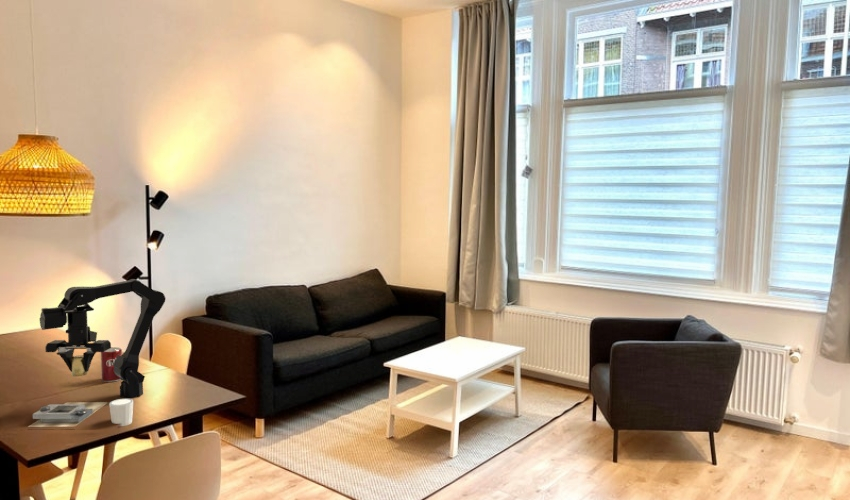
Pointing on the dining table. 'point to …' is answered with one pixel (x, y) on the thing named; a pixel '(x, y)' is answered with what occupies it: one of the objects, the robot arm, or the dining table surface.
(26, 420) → the dining table surface
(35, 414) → the square frame with knobs
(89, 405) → the board
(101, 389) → the dining table surface
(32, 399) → the dining table surface
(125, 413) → the white short tapered cylinder
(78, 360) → the pin
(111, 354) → the soda can
